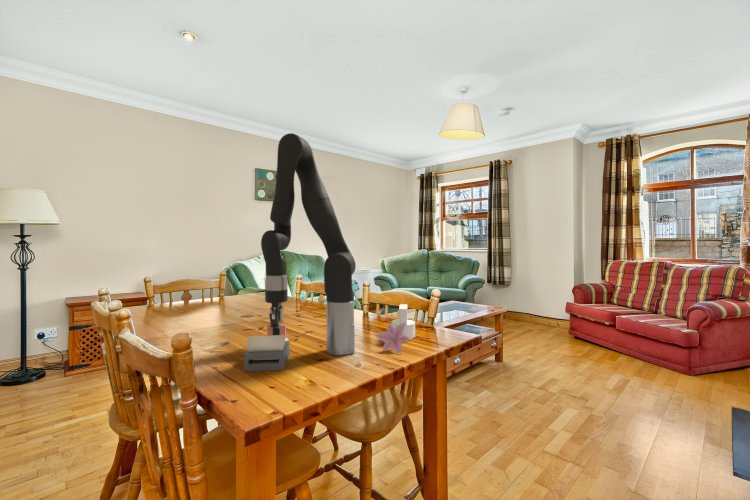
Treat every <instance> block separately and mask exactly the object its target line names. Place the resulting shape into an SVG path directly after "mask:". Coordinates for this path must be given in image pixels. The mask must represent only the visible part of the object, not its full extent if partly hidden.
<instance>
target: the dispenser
mask: <svg viewBox="0 0 750 500" xmlns="http://www.w3.org/2000/svg"><path fill="white" fill-rule="evenodd" d="M290 356H291V348H290V340H288V341H285V336H284V335H269V336H267V335H249V336H248V338H247V342H246V351H245V352H244V354H243V371H244V372H262V371H263V372H264V371H265V372H266V371H267V372H268V371H270V372H271V371H284V370H285V367H286V365H287V363H288V360H289V358H290ZM252 359H276V360H252Z"/></svg>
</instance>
